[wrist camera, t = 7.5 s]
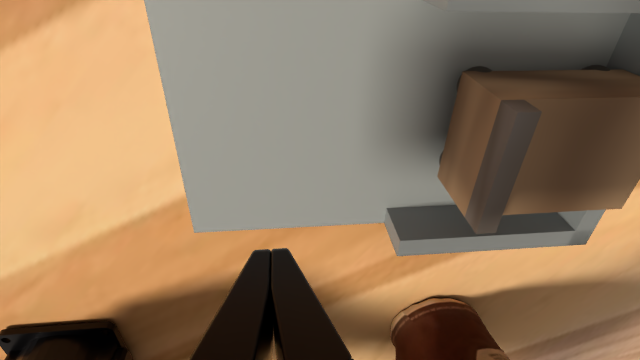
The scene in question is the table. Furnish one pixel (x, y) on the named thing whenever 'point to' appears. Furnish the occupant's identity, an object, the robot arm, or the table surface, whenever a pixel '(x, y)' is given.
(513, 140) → the block
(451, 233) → the dock
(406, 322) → the coffee cup
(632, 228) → the table surface
